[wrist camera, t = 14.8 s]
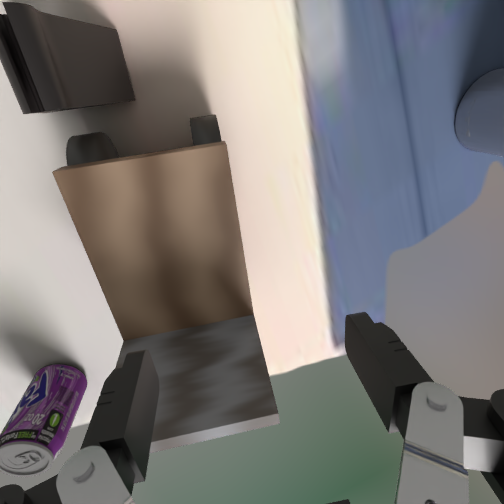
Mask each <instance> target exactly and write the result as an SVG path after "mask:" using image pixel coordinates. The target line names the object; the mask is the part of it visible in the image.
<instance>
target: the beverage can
mask: <svg viewBox="0 0 504 504" xmlns="http://www.w3.org/2000/svg"><path fill="white" fill-rule="evenodd" d="M86 387H87V379H86V377H85V376H84V374H83V373H82V372H81V371H79V370H78V369H76V368H74V367H71V366H68V365H61V364H56V365H49V366H46V367H44V368H42V369H40V370H39V371H38V372H37V373H36V374H35V376H34V378H33V379H32V381H31V383H30V385H29V386H28V388H27V390H26V391H25V393H24V395H23V397H22V398H21V400H20V402H19V403H18V405H17V407H16V409H15V410H14V412H13V414H12V415H11V417H10V419H9V421H8V422H7V424H6V426H5V427H4V429H3V431H2V433H1V434H0V471H1V472H3V473H5V474H7V475H11V476H16V477H31V476H36V475H40V474H42V473H44V472H46V471H47V470H48V469H49V468H50V467H51V466H52V463H53V461H54V459H55V458H56V457H57V456H58V455H59V454H60V453H61V451H62V449H63V447H64V444H65V441H66V438H67V436H68V433H69V431H70V428H71V426H72V423H73V421H74V418H75V416H76V413H77V410H78V408H79V405H80V403H81V400H82V397H83V395H84V392H85V390H86Z"/></svg>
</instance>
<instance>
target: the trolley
mask: <svg viewBox="0 0 504 504" xmlns="http://www.w3.org/2000/svg"><path fill="white" fill-rule="evenodd" d="M190 126H191V133H192V139H193V144H194V146H191V147H184V148H178V149H172V150H165V151H159V152H153V153H146V154H140V155H134V156H128V157H121V158H119V155H118V153H117V151H116V149H115V147H114V145H113V143H112V142H111V140H110V139H109V137H108V136H107V135H106V134H105V133H103V132H98V133H91V134H85V135H78V136H72V137H71V138H70V139H69V140H68V143H67V148H66V159H67V166H65V167H61V168H59V169H57V170H55V171H53V172H52V173H53V175H54V177H55V180H56V182H57V184H58V187H59V189H60V192H61V194H62V196H63V199H64V201H65V203H66V206H67V208H68V210H69V213H70V215H71V218H72V220H73V222H74V225H75V227H76V229H77V232H78V234H79V236H80V239H81V241H82V243H83V246H84V248H85V251H86V253H87V255H88V258H89V260H90V262H91V265H92V267H93V269H94V272H95V274H96V277H97V279H98V281H99V284H100V286H101V288H102V291H103V293H104V295H105V298H106V300H107V303H108V305H109V307H110V310H111V312H112V314H113V317H114V319H115V321H116V324H117V326H118V328H119V331H120V333H121V336H122V338H123V340H124V342H123V345H122V348H121V351H120V355H119V358H118V361H117V364H116V368H115V369H117V368H122V366H123V363H124V360H125V357H126V355H127V353H129V352H135V351H140V350H146V349H147V350H149V352H150V355H151V358H152V360H153V363H154V366H155V369H156V372H157V374H158V378H159V387H160V388H159V397H158V404H157V410H156V416H155V422H154V428H153V434H152V440H151V447H150V453H153V452H158V451H162V450H166V449H171V448H175V447H180V446H184V445H188V444H193V443H197V442H201V441H205V440H210V439H214V438H219V437H223V436H228V435H232V434H236V433H241V432H245V431H249V430H254V429H258V428H262V427H267V426H271V425H275V424H279V415H278V410H277V406H276V402H275V398H274V394H273V390H272V386H271V382H270V378H269V374H268V370H267V366H266V362H265V358H264V354H263V350H262V346H261V342H260V338H259V334H258V330H257V326H256V322H255V318H254V313H253V307H252V301H251V295H250V288H249V282H248V276H247V270H246V264H245V257H244V251H243V245H242V239H241V232H240V226H239V220H238V214H237V208H236V201H235V195H234V189H233V183H232V176H231V170H230V164H229V158H228V152H227V145H226V143H225V141H221V136H220V131H219V126H218V122H217V118H216V115H210V116H203V117H197V118H190Z"/></svg>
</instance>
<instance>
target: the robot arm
mask: <svg viewBox="0 0 504 504" xmlns="http://www.w3.org/2000/svg"><path fill="white" fill-rule="evenodd" d="M455 129H456V134H457V137H458V139H459V141H460V142H461V144H462V145H463V146H465V147H466V148H467V149H470V150H473V151H478V152H483V153H488V154H493V155H497V156H502V157H504V68H501V69H495V70H493V71H490V72H488V73H486V74H485V75H483V76H481V77H480V78H479V79H478V80H477V81H476V82H474V83H473V84H472V86H471V87H470V88H469V89H468V90H467V92H466V93H465V95H464V97H463V98H462V100H461V102H460V105H459V107H458V110H457V114H456V121H455ZM345 349H346V353H347V356H348V358H349V360H350V362H351V364H352V366H353V367H354V369H355V371H356V373H357V375H358V377H359V379H360V380H361V382H362V384H363V386H364V388H365V390H366V392H367V393H368V395H369V397H370V399H371V401H372V403H373V405H374V407H375V408H376V410H377V412H378V414H379V416H380V418H381V419H382V421H383V423H384V425H385V427H386V429H387V431H388V432H389V433H394V432H400V433H401V435H402V437H403V439H404V443H403V450H402V456H401V462H400V469H399V475H398V482H397V488H396V495H395V501H394V504H469V480H468V472H467V470H466V469H472V470H479V471H480V472H481V473H482V475H483V476H484V477H485V479H486V481H487V482H488V484H489V485H490V486H491V488H492V490H493V491H494V493H495V494H496V496H497V497H498V499H499V500H500V502H501V503H502V504H504V389H501V390H497V391H495V392H494V393H493V394H492V396H491V399H490V400H484V399H475V398H465V397H460V396H457V395H456V394H455V393H454V392H453V391H452V390H451V389H449V388H447V387H446V386H444V385H441V384H438V383H435V382H434V381H433V380H432V379H431V378H430V377H429V375H428V374H427V373H426V371H425V370H424V369H423V368H422V366H421V365H420V364H419V362H418V361H417V360H416V359H415V358H414V356H413V355H412V354H411V352H410V351H409V350H407V347H406V346H405V345H404V343H403V342H401V340H400V339H399V337H398V336H397V335H396V334H395V332H394V331H393V330H392V329H390V328H389V327H387V326H386V325H384V324H383V323H381V322H380V323H374V322H373V321H372V319H371V318H370V317H369V315H368V314H367V313H366V312H361V313H356V314H350V315H347V316H346V320H345ZM159 388H160V387H159V378H158V374H157V372H156V369H155V366H154V363H153V360H152V358H151V355H150V352H149V350H147V349H146V350H140V351H135V352H129V353H127V355H126V357H125V360H124V363H123V366H122V368H117V369H114V370H113V371H112V373H111V374H110V375H109V377H108V378H107V379H106V380H105V382H104V385H103V388H102V391H101V396H99V399H98V402H97V407H95V410H94V413H93V416H92V419H91V421H90V424H89V427H88V430H87V433H86V435H85V438H84V441H83V444H82V446H81V449H80V450H79V451H78V452H76V453H75V454H74V455H73V456H71V457H70V458H69V459H68V460H67V461H66V462H65V464H64V465H63V467H62V468H61V470H60V472H59V474H57V475H56V476H54V477H52V478H50V479H48V480H46V481H44V482H42V483H40V484H38V485H36V486H34V487H32V488H31V489H28V490H26V491H24V490H23V489H22V487H20V486H19V485H14V484H12V485H6V486H3V487H1V488H0V504H135V502H134V501H133V499H132V498H131V496H132V490H133V484H134V483H138V482H143V481H145V477H146V471H147V465H148V459H149V453H150V447H151V440H152V434H153V428H154V422H155V416H156V410H157V404H158V397H159ZM464 468H465V469H464ZM329 504H350V502H349V500H348V499H347V500H342V501H338V502H333V503H329Z"/></svg>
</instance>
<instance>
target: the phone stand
mask: <svg viewBox="0 0 504 504" xmlns="http://www.w3.org/2000/svg"><path fill="white" fill-rule="evenodd" d="M2 3H3V5H4V8H5V10H6V13H7V15H6V14H3V15H2V14H0V60H1V63H2V65H3V67H4V70H5V72H6V74H7V77H8V79H9V81H10V84H11V86H12V88H13V91H14V93H15V95H16V98H17V100H18V103H19V105H20V107H21V110H22V112H23V114H30V113H49V112H56V111H63V110H70V109H78V108H85V107H92V106H99V105H106V104H113V103H120V102H127V101H134V100H135V96H134V93H133V89H132V85H131V81H130V78H129V74H128V70H127V66H126V63H125V59H124V55H123V52H122V48H121V44H120V40H119V37H118V33H117V30H115V29H110V28H106V27H102V26H98V25H93V24H89V23H85V22H81V21H76V20H72V19H68V18H64V17H59V16H55V15H51V14H47V13H43V12H40V11H38V10H36V9H35V8H34V7H32V6H30V5H27V4H22V3H14V2H2Z"/></svg>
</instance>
